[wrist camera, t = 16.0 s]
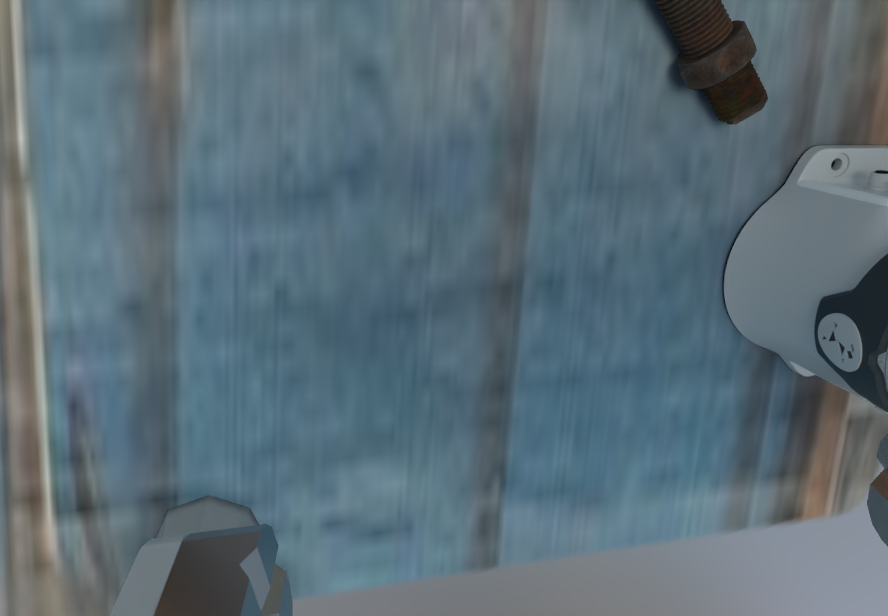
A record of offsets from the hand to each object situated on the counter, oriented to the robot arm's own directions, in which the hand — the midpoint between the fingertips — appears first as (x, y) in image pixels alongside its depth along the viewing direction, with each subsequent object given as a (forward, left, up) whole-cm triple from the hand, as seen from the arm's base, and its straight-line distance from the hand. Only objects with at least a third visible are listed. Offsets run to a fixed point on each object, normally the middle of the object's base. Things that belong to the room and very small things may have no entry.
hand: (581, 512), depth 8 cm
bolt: (-20, -5, -37) cm, 42 cm away
